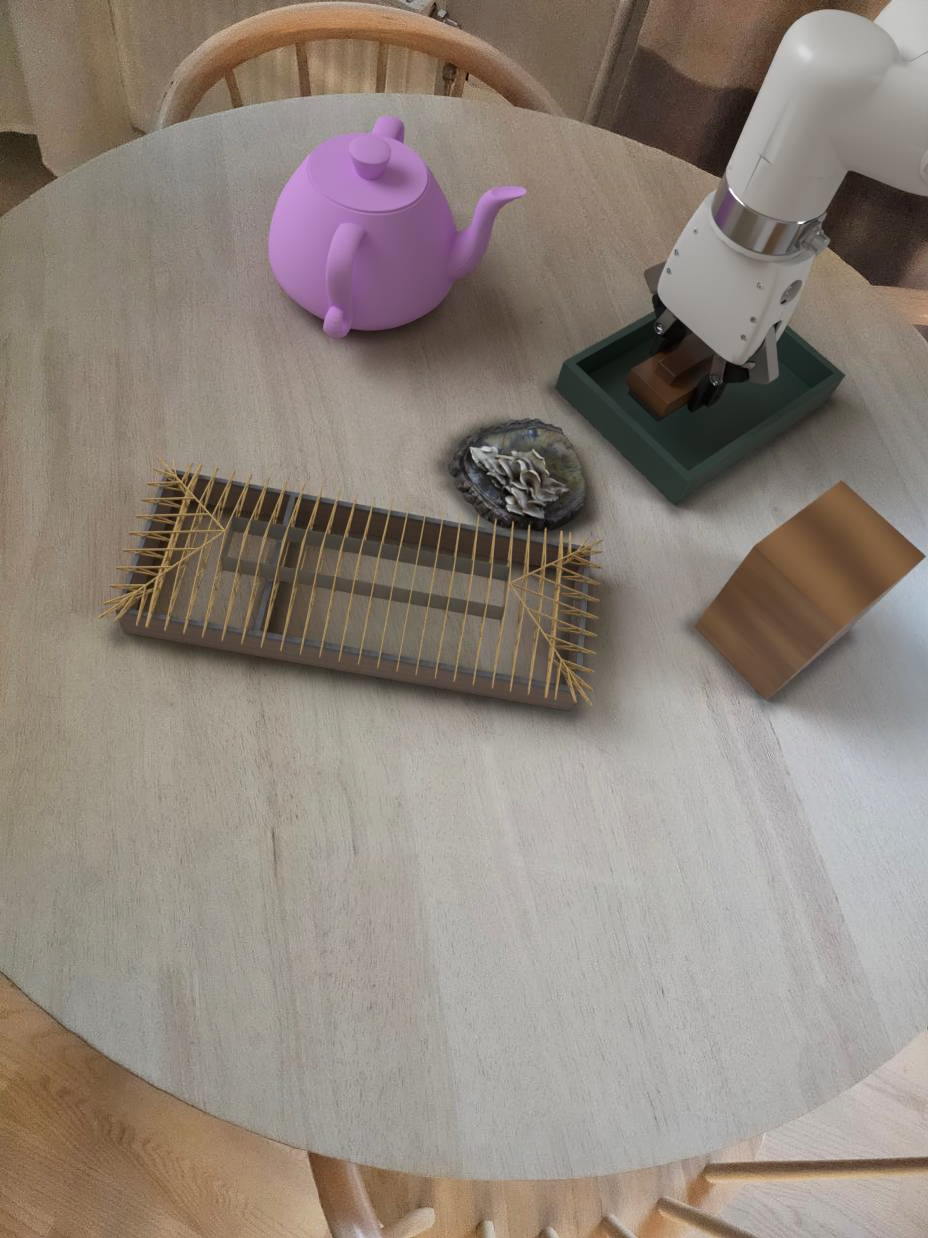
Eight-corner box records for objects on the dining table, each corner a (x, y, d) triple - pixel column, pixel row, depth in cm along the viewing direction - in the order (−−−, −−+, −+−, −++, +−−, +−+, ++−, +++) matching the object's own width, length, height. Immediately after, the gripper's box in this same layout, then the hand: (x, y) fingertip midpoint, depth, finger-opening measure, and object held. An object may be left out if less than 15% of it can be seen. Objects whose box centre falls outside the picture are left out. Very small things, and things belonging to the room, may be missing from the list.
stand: (773, 565, 80) (841, 479, 69) (844, 634, 77) (926, 556, 67) (693, 626, 76) (754, 545, 65) (766, 700, 73) (841, 629, 63)
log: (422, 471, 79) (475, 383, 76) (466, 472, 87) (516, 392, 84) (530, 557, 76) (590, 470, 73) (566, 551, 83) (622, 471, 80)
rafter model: (107, 640, 68) (89, 599, 63) (163, 482, 75) (152, 432, 70) (580, 723, 70) (602, 690, 65) (592, 562, 77) (612, 519, 72)
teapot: (479, 399, 84) (506, 276, 72) (238, 342, 83) (225, 208, 71) (516, 236, 95) (546, 106, 83) (304, 185, 94) (302, 46, 82)
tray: (711, 298, 94) (724, 270, 91) (828, 400, 90) (845, 374, 87) (554, 388, 86) (563, 361, 83) (674, 506, 81) (688, 481, 78)
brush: (697, 347, 86) (714, 312, 82) (732, 379, 85) (751, 345, 81) (621, 392, 82) (635, 358, 78) (656, 427, 81) (673, 393, 77)
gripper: (886, 262, 67) (775, 430, 82) (716, 124, 71) (642, 308, 87) (821, 302, 63) (719, 468, 79) (648, 156, 68) (584, 340, 84)
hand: (679, 383), depth 83 cm, fingers closed on brush, 4 cm apart
